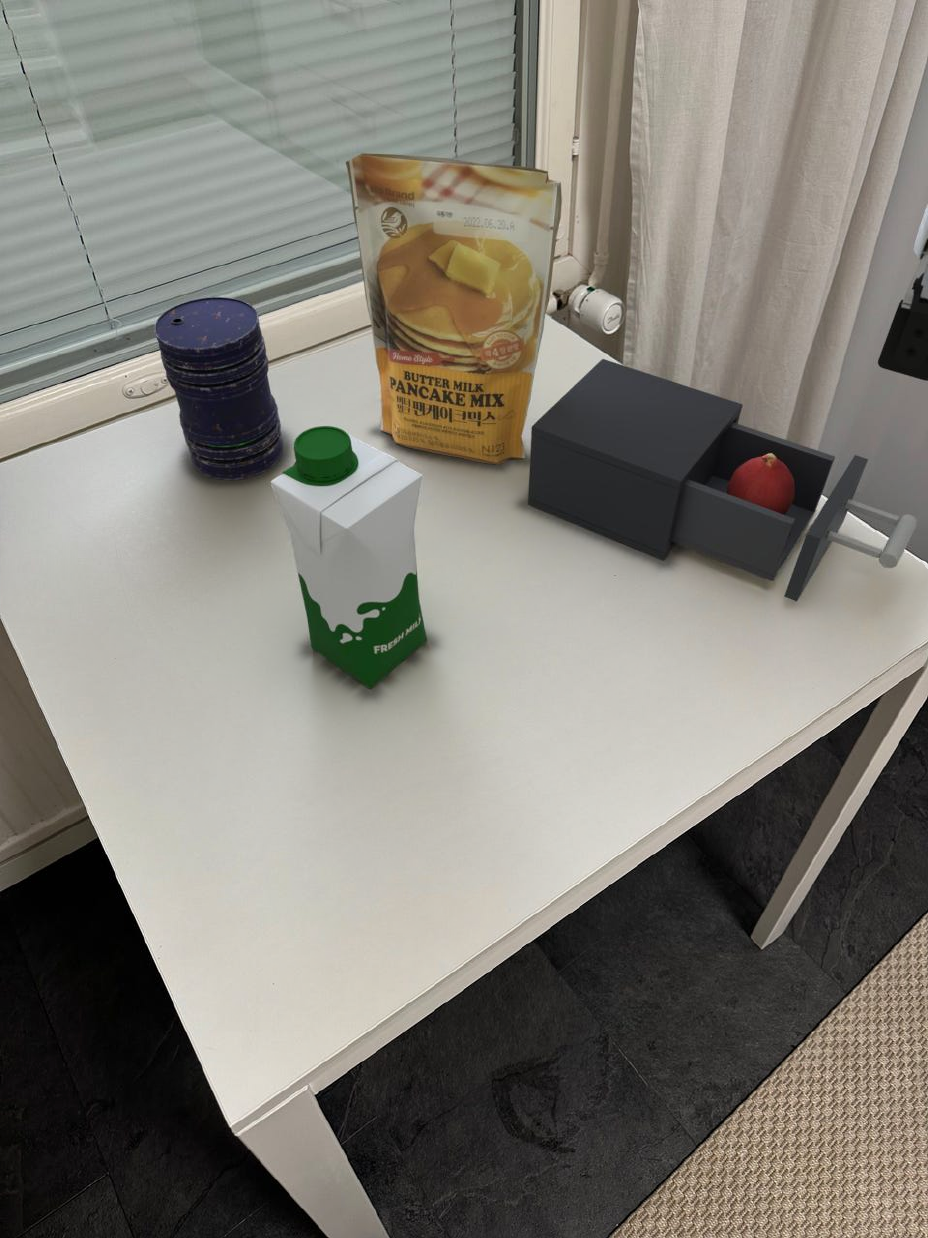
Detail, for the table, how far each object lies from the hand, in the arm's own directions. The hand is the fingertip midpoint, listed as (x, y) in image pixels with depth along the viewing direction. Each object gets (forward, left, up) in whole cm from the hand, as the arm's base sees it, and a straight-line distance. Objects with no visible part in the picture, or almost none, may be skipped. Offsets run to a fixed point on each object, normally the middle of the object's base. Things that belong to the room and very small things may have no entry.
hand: (926, 335), depth 55 cm
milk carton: (+37, -1, -28) cm, 47 cm away
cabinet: (+12, -20, -28) cm, 37 cm away
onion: (+2, -13, -26) cm, 29 cm away
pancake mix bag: (+29, -30, -28) cm, 51 cm away
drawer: (-1, -11, -27) cm, 29 cm away
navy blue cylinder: (+52, -29, -28) cm, 66 cm away
